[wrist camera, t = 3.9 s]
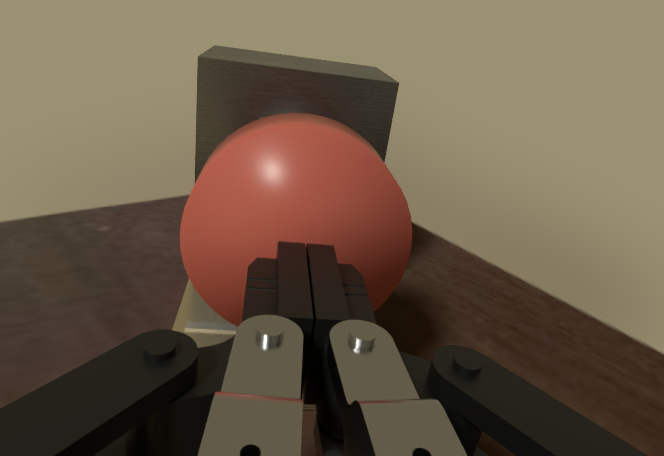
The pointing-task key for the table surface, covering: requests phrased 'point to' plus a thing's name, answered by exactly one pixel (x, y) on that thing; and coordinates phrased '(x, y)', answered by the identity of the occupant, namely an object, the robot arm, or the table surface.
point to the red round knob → (293, 207)
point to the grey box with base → (271, 99)
